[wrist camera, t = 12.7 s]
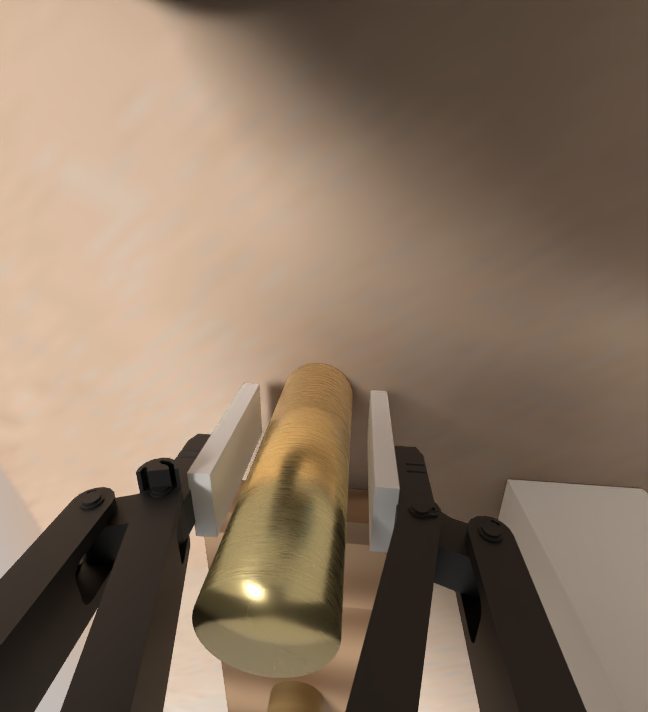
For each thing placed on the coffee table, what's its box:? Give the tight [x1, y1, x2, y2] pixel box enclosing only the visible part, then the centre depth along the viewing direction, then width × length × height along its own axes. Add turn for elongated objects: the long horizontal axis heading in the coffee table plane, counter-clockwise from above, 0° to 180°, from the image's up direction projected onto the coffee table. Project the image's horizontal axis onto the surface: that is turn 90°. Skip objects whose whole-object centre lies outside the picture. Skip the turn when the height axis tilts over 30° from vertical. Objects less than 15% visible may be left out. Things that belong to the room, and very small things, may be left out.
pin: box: [192, 363, 352, 678], centre depth 15 cm, size 4×4×12 cm
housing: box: [498, 479, 648, 712], centre depth 17 cm, size 7×7×11 cm
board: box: [204, 481, 386, 712], centre depth 21 cm, size 20×10×12 cm, turn 179°
